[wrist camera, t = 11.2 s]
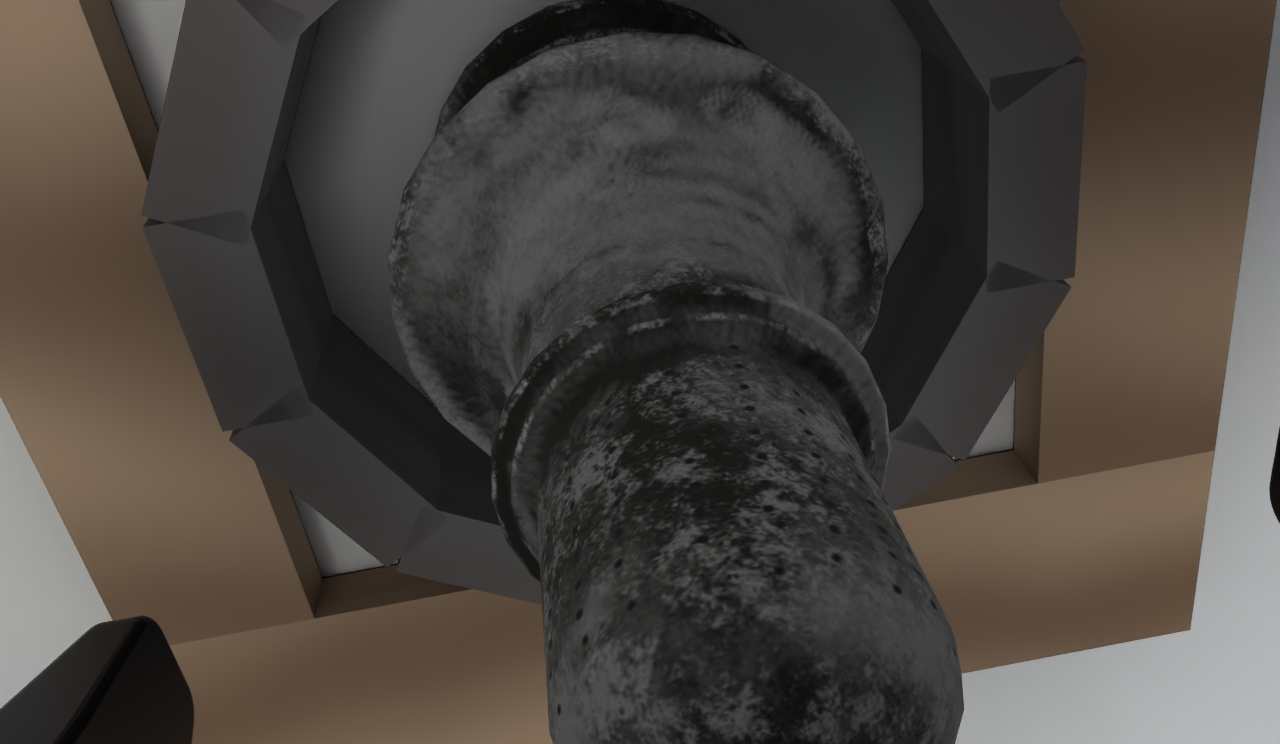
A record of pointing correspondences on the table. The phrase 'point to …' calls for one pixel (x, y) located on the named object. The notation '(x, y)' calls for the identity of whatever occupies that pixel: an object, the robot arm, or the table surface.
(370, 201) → the table surface
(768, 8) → the table surface
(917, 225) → the socket board
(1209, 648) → the table surface
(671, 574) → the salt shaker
